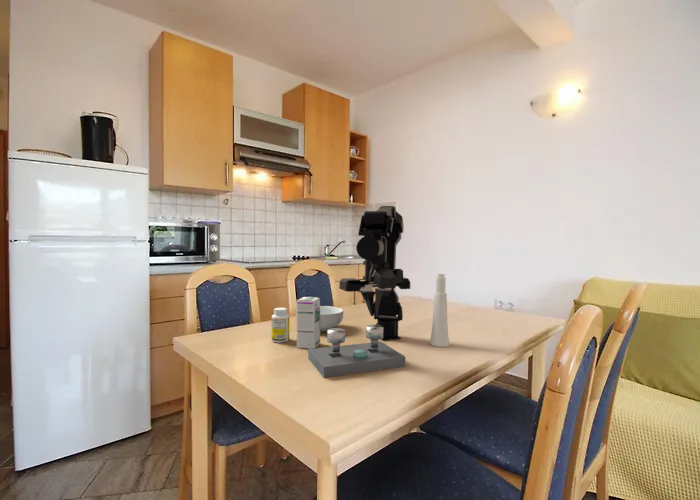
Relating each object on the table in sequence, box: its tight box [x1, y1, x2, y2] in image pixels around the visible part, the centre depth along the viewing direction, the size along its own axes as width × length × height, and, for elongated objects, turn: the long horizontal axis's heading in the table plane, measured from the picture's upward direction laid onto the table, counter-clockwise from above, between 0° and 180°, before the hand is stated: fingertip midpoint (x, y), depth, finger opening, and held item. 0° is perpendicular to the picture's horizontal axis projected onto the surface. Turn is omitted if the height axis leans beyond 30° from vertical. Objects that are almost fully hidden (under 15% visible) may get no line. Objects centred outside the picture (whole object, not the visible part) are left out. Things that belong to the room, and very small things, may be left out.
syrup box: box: [296, 296, 321, 350], centre depth 106 cm, size 6×6×14 cm
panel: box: [307, 341, 406, 378], centre depth 93 cm, size 22×14×2 cm, turn 112°
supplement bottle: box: [271, 307, 290, 344], centre depth 111 cm, size 6×6×10 cm
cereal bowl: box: [295, 305, 344, 333], centre depth 127 cm, size 17×17×7 cm
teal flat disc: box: [353, 350, 367, 359], centre depth 90 cm, size 4×4×1 cm
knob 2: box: [365, 324, 383, 348], centre depth 95 cm, size 5×5×6 cm
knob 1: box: [326, 327, 346, 353], centre depth 91 cm, size 5×5×6 cm
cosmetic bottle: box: [429, 273, 451, 348], centre depth 110 cm, size 6×6×22 cm
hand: (374, 315), depth 95 cm, fingers closed
